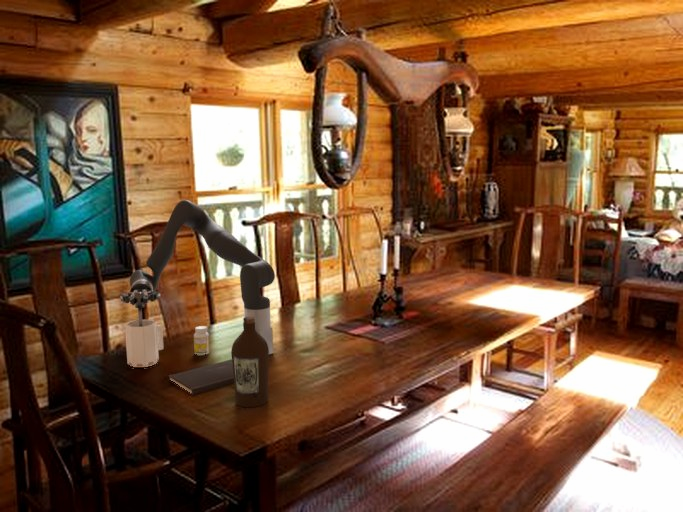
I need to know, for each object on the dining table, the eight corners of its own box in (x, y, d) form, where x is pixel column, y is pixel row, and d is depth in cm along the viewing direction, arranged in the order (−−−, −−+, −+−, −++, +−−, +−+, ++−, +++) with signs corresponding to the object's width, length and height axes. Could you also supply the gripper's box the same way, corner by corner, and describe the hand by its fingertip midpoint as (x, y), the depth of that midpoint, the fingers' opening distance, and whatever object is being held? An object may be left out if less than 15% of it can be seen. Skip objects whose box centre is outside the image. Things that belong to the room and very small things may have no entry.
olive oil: (240, 393, 179) (237, 312, 175) (274, 394, 177) (272, 313, 173) (228, 407, 169) (224, 322, 165) (264, 409, 167) (261, 323, 163)
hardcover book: (169, 382, 190) (168, 375, 189) (232, 365, 205) (232, 359, 204) (192, 397, 178) (192, 389, 177) (257, 378, 193) (257, 371, 192)
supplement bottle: (203, 356, 213) (202, 330, 211) (191, 354, 215) (190, 328, 213) (212, 351, 217) (211, 326, 216) (200, 350, 220) (199, 324, 218)
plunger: (156, 345, 204) (153, 292, 201) (138, 350, 199) (134, 295, 196) (145, 341, 209) (142, 289, 206) (127, 346, 204) (124, 292, 201)
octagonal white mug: (170, 361, 207) (168, 321, 205) (138, 371, 198) (135, 329, 196) (154, 355, 214) (152, 316, 211) (122, 364, 205) (119, 323, 202)
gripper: (120, 281, 213) (115, 292, 196) (161, 279, 216) (160, 289, 200) (121, 302, 214) (117, 314, 197) (162, 299, 217) (161, 311, 201)
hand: (138, 301), depth 199 cm, fingers closed on plunger, 3 cm apart
